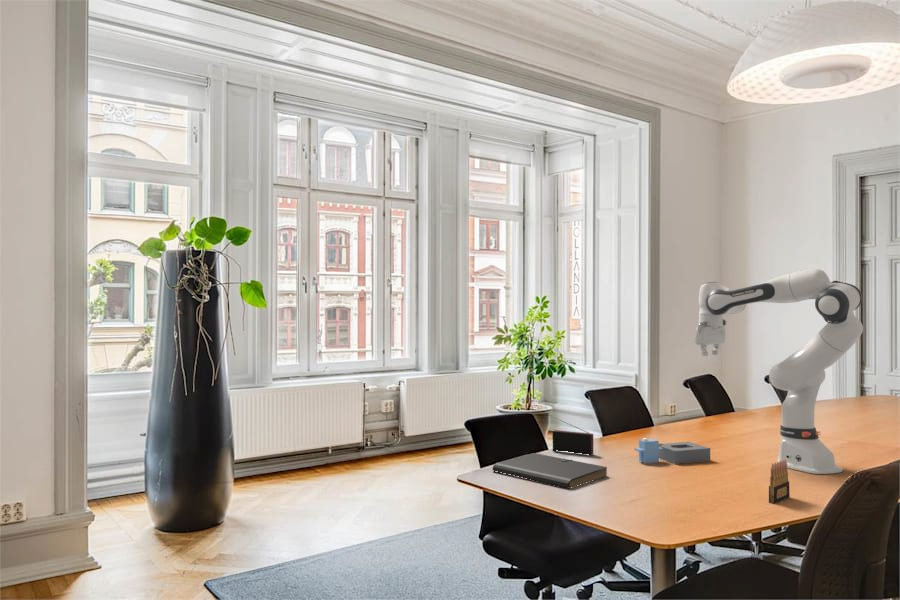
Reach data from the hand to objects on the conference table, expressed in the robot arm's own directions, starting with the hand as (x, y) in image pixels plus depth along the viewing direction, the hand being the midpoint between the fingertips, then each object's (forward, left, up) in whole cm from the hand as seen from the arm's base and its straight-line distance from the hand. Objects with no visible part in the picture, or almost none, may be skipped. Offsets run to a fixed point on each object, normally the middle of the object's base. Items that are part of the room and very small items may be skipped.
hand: (710, 355), depth 273 cm
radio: (+17, +55, -40) cm, 70 cm away
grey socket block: (-7, +19, -40) cm, 44 cm away
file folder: (-12, +78, -41) cm, 89 cm away
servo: (-7, +34, -40) cm, 53 cm away
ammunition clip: (-63, +25, -40) cm, 78 cm away
